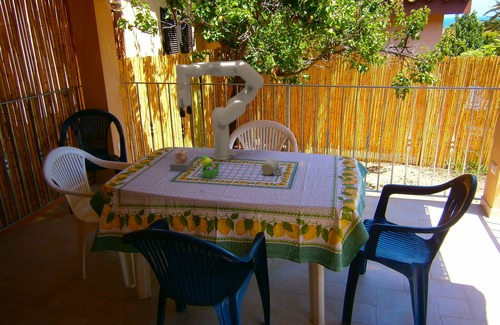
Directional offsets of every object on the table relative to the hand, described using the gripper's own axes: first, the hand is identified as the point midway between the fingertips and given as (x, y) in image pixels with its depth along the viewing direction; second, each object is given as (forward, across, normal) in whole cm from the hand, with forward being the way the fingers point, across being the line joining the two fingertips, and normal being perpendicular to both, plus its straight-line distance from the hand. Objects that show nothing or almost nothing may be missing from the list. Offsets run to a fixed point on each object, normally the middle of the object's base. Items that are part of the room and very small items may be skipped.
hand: (186, 115), depth 223 cm
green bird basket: (+29, +22, +21) cm, 42 cm away
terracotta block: (+24, +14, +1) cm, 28 cm away
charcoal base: (+28, +14, +1) cm, 32 cm away
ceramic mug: (+29, +14, +54) cm, 63 cm away
